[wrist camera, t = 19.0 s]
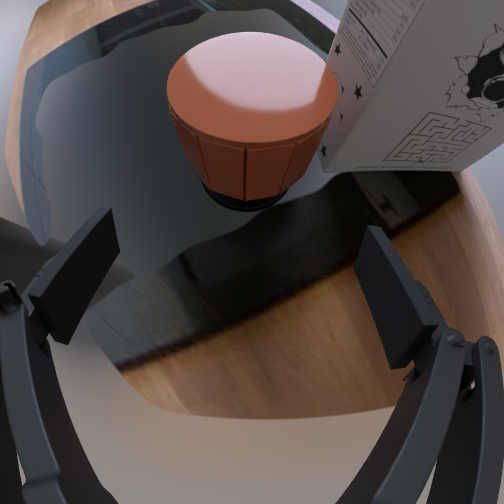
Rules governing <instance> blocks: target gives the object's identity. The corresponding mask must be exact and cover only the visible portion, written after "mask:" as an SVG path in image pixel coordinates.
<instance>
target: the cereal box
mask: <svg viewBox="0 0 504 504" xmlns="http://www.w3.org/2000/svg"><path fill="white" fill-rule="evenodd" d="M326 64H327V65H328V67H329V68H330V70H331V71H332V73H333V75H334V77H335V80H336V84H337V91H338V95H337V102H336V105H335V107H334V110H333V112H332V116H331V120H330V123H329V125H328V127H327V129H326V131H325V133H324V135H323V137H322V139H321V141H320V143H319V145H318V147H317V150H318V154H319V157H320V161H321V165H322V168H323V171H324V172H325V173H329V172H348V171H378V170H428V171H456V172H461V171H463V170H464V169H466V168H467V167H469V166H470V165H472V164H473V163H475V162H476V161H478V160H479V159H481V158H482V157H484V156H485V155H487V154H488V153H490V152H491V151H493V150H494V149H496V148H497V147H499V146H500V145H502V144H503V143H504V0H348V2H347V4H346V7H345V10H344V13H343V16H342V18H341V21H340V24H339V27H338V30H337V33H336V35H335V38H334V41H333V44H332V47H331V49H330V52H329V55H328V58H327V61H326Z"/></svg>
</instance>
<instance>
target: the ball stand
mask: <svg viewBox="0 0 504 504" xmlns="http://www.w3.org/2000/svg"><path fill="white" fill-rule="evenodd" d="M201 181H202V180H201ZM202 184H203V186H204V188H205V190H206V192H207V193H208V194H209V196H210V197H211V198H213V200H214V201H216V202H217V203H218V204H220V205H222V206H224V207H226V208H229V209H231V210H235V211H241V212H253V211H259V210H263V209H265V208H268V207H270V206H272V205H274V204H275V203H276V202H278V201H279V200H280V199H281V198H282V197H283V196H284V195H285V193H286V192H287V190H288V189H289V188H288V189H286V190H285V191H284V192H283V193H281V194H279V193H278V196H272V197H266V198H260V199H254V200H248V201H245V197H244V200H240V199H236V198H233V197H230V196H227V195H224V194H221V193H218V192H215V191H212V188H211V189H209V188H208V187H207V186H206V184H205V183H204V182H203V181H202Z"/></svg>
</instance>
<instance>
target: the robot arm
mask: <svg viewBox="0 0 504 504" xmlns="http://www.w3.org/2000/svg"><path fill="white" fill-rule="evenodd" d="M119 253H120V248H119V244H118V240H117V235H116V230H115V225H114V220H113V214H112V209H111V208H99V209H98V210H97V211H96V212H95V213H94V214H93V215H92V216H91V217H90V218H89V219H88V220H87V221H86V222H85V223H84V224H83V225H82V226H81V228H80V229H79V230H78V231H77V232H76V233H75V234H74V235H73V236H72V238H71V239H70V240H69V241H68V242H67V243H66V244H65V246H64V247H63V248H62V249H61V250H60V252H59V253H58V254H57V255H55V256H54V257H52V258H51V259H50V260H48V261H47V262H46V263H45V264H44V266H43V267H42V268H41V271H39V272H38V273H37V275H36V277H34V279H33V280H32V281H31V283H30V284H29V285H28V287H27V288H26V289H25V291H24V292H23V294H22V295H20V294H19V292H18V290H17V288H16V286H15V284H14V282H12V281H4V282H2V283H0V504H118V502H117V501H116V500H115V499H114V497H113V496H112V495H111V494H110V493H109V492H108V491H107V490H106V489H105V488H104V487H103V486H102V485H101V483H100V481H99V480H98V478H97V476H96V474H95V472H94V470H93V468H92V466H91V464H90V462H89V460H88V458H87V456H86V454H85V452H84V450H83V448H82V445H81V443H80V441H79V438H78V436H77V434H76V431H75V429H74V426H73V424H72V421H71V419H70V416H69V413H68V410H67V408H66V404H65V401H64V398H63V395H62V392H61V389H60V385H59V382H58V378H57V375H56V371H55V367H54V363H53V359H52V355H51V350H50V345H49V342H48V340H47V339H46V338H47V336H48V334H49V333H50V334H51V336H52V337H53V339H54V341H56V342H59V343H62V344H65V345H68V344H69V342H70V340H71V338H72V336H73V334H74V332H75V330H76V328H77V326H78V324H79V322H80V320H81V318H82V316H83V314H84V312H85V310H86V309H87V307H88V305H89V303H90V301H91V299H92V298H93V296H94V294H95V292H96V291H97V289H98V287H99V285H100V284H101V282H102V280H103V279H104V277H105V275H106V274H107V272H108V270H109V269H110V267H111V265H112V264H113V262H114V261H115V259H116V257H117V256H118V254H119ZM353 269H354V271H355V273H356V276H357V278H358V281H359V283H360V285H361V288H362V290H363V293H364V295H365V298H366V300H367V303H368V306H369V308H370V311H371V313H372V316H373V319H374V321H375V324H376V327H377V330H378V333H379V335H380V338H381V341H382V344H383V347H384V350H385V353H386V356H387V359H388V362H389V365H390V368H391V370H392V369H399V368H405V367H406V366H407V365H408V364H409V363H410V362H411V360H412V359H413V361H414V364H415V366H414V367H413V368H412V370H411V371H410V372H409V373H408V374H407V375H406V376H405V377H404V379H403V381H405V380H406V379H407V378H408V380H407V382H406V384H405V387H404V389H403V391H402V394H401V396H400V398H399V400H398V402H397V405H396V407H395V409H394V411H393V413H392V415H391V417H390V419H389V421H388V423H387V425H386V427H385V428H384V430H383V432H382V434H381V436H380V438H379V440H378V441H377V443H376V445H375V446H374V448H373V450H372V451H371V453H370V455H369V456H368V458H367V460H366V461H365V463H364V464H363V466H362V468H361V469H360V471H359V472H358V473H357V475H356V477H355V478H354V479H353V481H352V482H351V484H350V485H349V486H348V488H347V489H346V490H345V492H344V493H343V494H342V496H341V497H340V498H339V500H338V501H337V502H336V503H335V504H416V502H417V500H418V498H419V497H420V495H421V493H422V491H423V489H424V487H425V485H426V483H427V480H428V478H429V476H430V474H431V472H432V470H433V467H434V465H435V463H436V460H437V463H436V468H435V473H434V477H433V481H432V485H431V489H430V493H429V496H428V499H427V503H426V504H497V500H498V494H499V489H500V483H501V477H502V469H503V460H504V389H503V378H502V370H501V363H500V356H499V351H498V347H497V345H496V344H495V342H494V340H493V339H491V338H490V337H488V336H482V337H480V338H479V340H478V341H477V342H476V343H472V342H468V341H466V340H465V338H464V336H463V335H462V334H461V333H460V332H459V331H458V330H456V329H454V328H448V326H447V324H446V322H445V320H444V318H443V317H442V315H441V313H440V311H439V309H438V307H437V306H436V305H435V302H434V300H433V299H432V298H431V295H430V293H429V292H428V290H427V288H426V287H425V286H424V285H423V284H422V283H421V282H420V281H419V280H414V278H413V276H412V275H411V273H410V271H409V270H408V268H407V266H406V265H405V263H404V262H403V260H402V259H401V257H400V255H399V254H398V252H397V251H396V249H395V248H394V246H393V245H392V243H391V242H390V240H389V239H388V237H387V236H386V235H385V233H384V232H383V230H382V229H381V227H377V226H369V225H367V229H366V232H365V235H364V238H363V241H362V244H361V247H360V250H359V253H358V256H357V259H356V261H355V264H354V267H353ZM474 381H475V387H474V388H473V389H471V384H472V383H473V382H474ZM16 450H17V451H16ZM17 453H18V456H19V460H20V462H21V466H22V468H23V471H24V474H25V477H26V482H25V484H24V485H23V486H22V482H21V477H20V472H19V465H18V459H17Z"/></svg>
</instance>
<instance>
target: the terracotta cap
mask: <svg viewBox="0 0 504 504" xmlns="http://www.w3.org/2000/svg"><path fill="white" fill-rule="evenodd" d="M337 95H338V91H337V84H336V80H335V77H334V75H333V73H332V71H331V70H330V68H329V67H328V65H327V64H326V63H325V62H324V61H323V59H321V58H320V57H319V56H318V55H317V54H316V53H314V52H313V51H312V50H310V49H309V48H307V47H305V46H304V45H302V44H300V43H298V42H296V41H293V40H290V39H288V38H285V37H281V36H278V35H273V34H268V33H258V32H241V33H232V34H227V35H222V36H218V37H215V38H212V39H209V40H207V41H205V42H202V43H200V44H199V45H197V46H195V47H193V48H192V49H191V50H189V51H188V52H186V53H185V54H184V55H183V56H182V57H181V58H180V59H179V60H178V61H177V62H176V64H175V65H174V67H173V68H172V70H171V72H170V75H169V77H168V81H167V97H168V100H169V111H170V113H171V116H172V119H173V122H174V124H175V127H176V130H177V132H178V135H179V138H180V140H181V143H182V146H183V148H184V151H185V154H186V156H187V159H188V162H189V164H190V166H191V169H192V170H193V171H194V172H195V173H196V174H197V175H198V176H199V178H200V179H201V180H202V181H203V182H204V183H205V184H206V186H207V187H208V188H209V189H211V188H212V191H215V192H218V193H221V194H224V195H227V196H230V197H233V198H236V199H240V200H244V197H245V201H248V200H254V199H260V198H266V197H272V196H278V193H279V194H281V193H283V192H284V191H285V190H286V189H288V188H289V187H290V186H291V185H293V184H294V183H295V182H296V181H298V180H299V179H300V178H302V177H303V175H304V174H305V171H306V170H307V167H308V166H309V164H310V161H311V160H312V158H313V155H314V153H315V151H316V149H317V147H318V145H319V143H320V141H321V139H322V137H323V135H324V133H325V131H326V129H327V127H328V125H329V123H330V120H331V116H332V112H333V110H334V107H335V105H336V102H337Z"/></svg>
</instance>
